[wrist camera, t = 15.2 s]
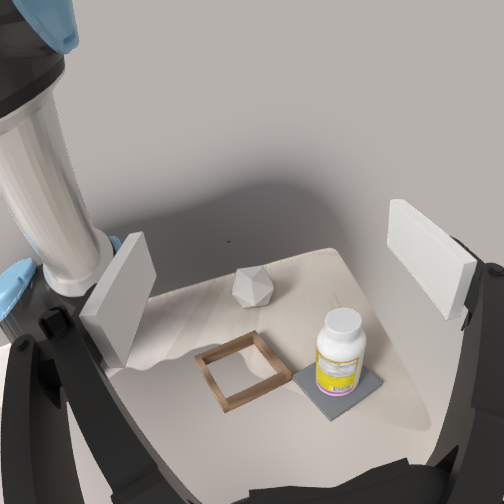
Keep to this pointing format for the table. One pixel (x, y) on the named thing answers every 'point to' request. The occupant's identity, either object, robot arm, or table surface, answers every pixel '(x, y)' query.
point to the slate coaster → (335, 404)
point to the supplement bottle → (340, 352)
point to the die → (252, 287)
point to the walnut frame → (255, 390)
